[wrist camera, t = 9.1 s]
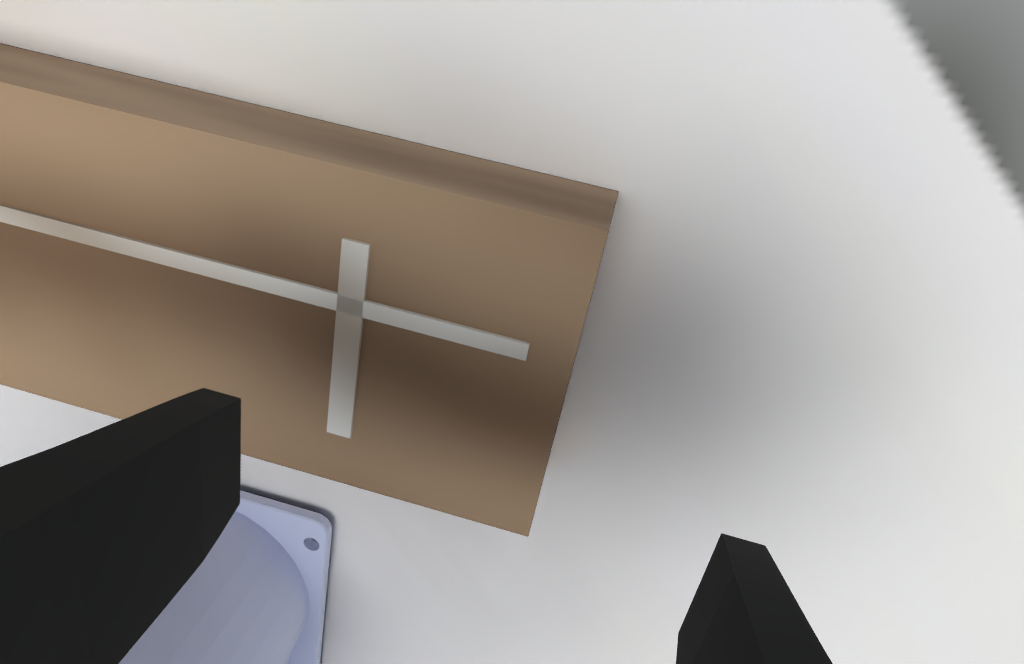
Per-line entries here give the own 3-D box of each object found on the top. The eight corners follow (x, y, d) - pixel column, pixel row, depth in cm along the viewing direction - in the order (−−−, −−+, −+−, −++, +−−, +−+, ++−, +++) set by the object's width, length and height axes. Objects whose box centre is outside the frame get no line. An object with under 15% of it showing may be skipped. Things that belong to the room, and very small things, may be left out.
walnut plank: (546, 464, 20) (527, 539, 17) (-197, 257, 22) (-317, 295, 20) (618, 191, 16) (608, 232, 14) (-280, -24, 19) (-444, -26, 16)
